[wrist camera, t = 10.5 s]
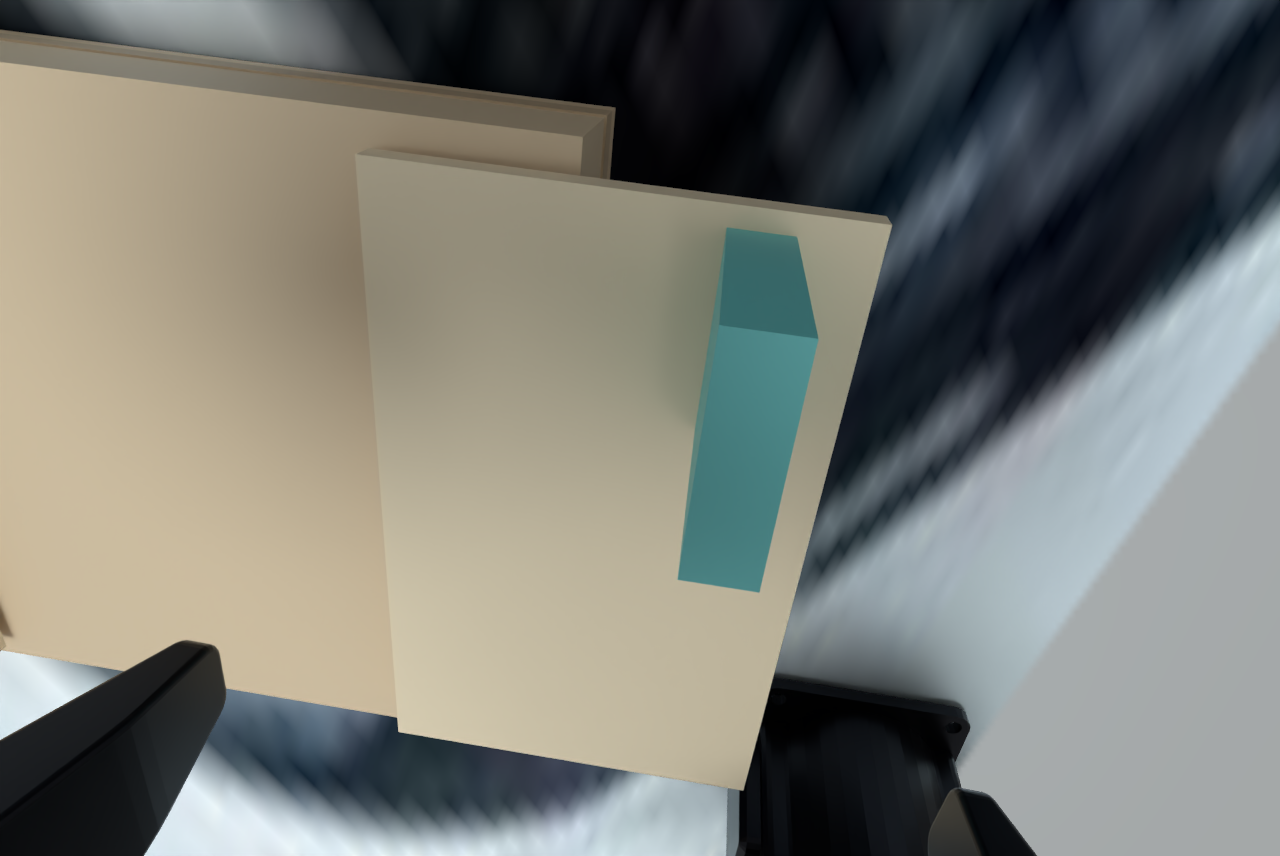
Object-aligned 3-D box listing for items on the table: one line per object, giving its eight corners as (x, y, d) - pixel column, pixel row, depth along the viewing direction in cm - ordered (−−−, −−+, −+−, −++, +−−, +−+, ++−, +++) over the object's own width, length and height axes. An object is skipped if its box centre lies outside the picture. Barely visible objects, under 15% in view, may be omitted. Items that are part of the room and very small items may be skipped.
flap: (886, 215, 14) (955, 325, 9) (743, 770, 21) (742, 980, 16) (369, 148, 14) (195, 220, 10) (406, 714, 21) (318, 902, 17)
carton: (617, 105, 17) (585, 134, 14) (573, 640, 25) (546, 743, 22) (-234, -3, 18) (-464, -1, 15) (-18, 544, 26) (-134, 628, 23)
